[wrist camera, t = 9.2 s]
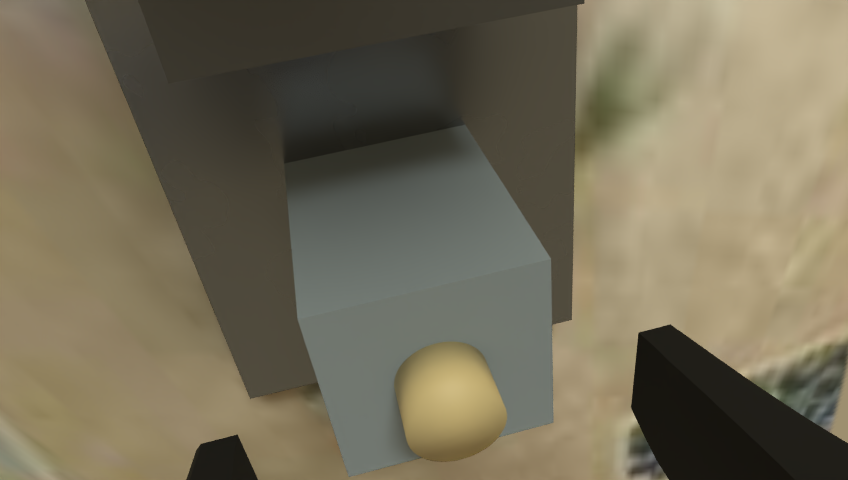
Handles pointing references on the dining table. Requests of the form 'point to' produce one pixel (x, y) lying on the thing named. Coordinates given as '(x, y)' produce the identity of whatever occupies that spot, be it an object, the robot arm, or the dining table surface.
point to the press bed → (338, 131)
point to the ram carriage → (302, 27)
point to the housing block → (419, 299)
